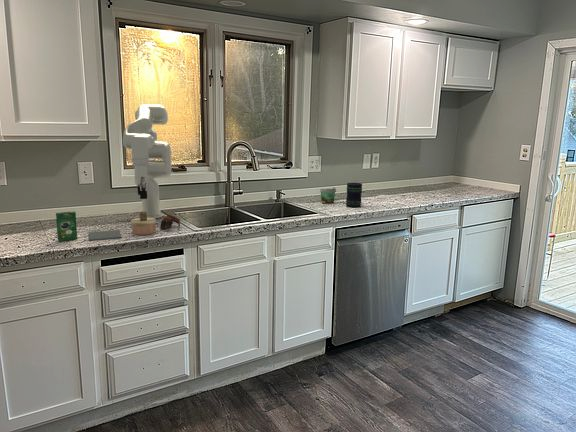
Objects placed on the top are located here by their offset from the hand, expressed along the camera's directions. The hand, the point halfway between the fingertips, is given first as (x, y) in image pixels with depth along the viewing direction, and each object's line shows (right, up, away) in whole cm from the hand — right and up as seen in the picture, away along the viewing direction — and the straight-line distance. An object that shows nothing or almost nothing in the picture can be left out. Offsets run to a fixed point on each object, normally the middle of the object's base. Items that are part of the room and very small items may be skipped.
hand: (142, 196), depth 223 cm
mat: (-17, -19, -4) cm, 25 cm away
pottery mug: (+10, -16, +12) cm, 22 cm away
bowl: (0, -18, +3) cm, 18 cm away
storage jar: (+114, -3, +76) cm, 137 cm away
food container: (+99, -1, +85) cm, 130 cm away
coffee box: (-31, -21, -12) cm, 39 cm away
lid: (0, -13, +2) cm, 13 cm away
